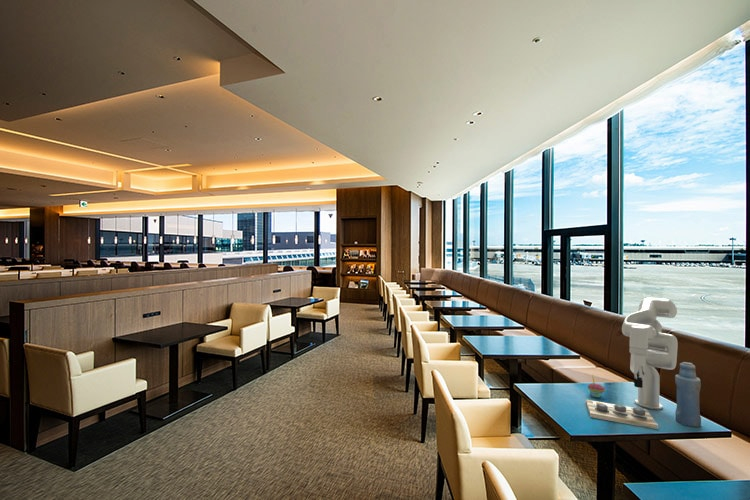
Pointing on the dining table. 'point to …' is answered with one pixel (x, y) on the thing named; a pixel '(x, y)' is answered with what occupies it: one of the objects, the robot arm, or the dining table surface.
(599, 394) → the cupcake
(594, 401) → the pattern card
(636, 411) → the button near bottle
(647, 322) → the robot arm
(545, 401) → the dining table surface
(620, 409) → the button middle
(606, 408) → the button far
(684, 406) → the bottle
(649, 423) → the button board
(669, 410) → the dining table surface
